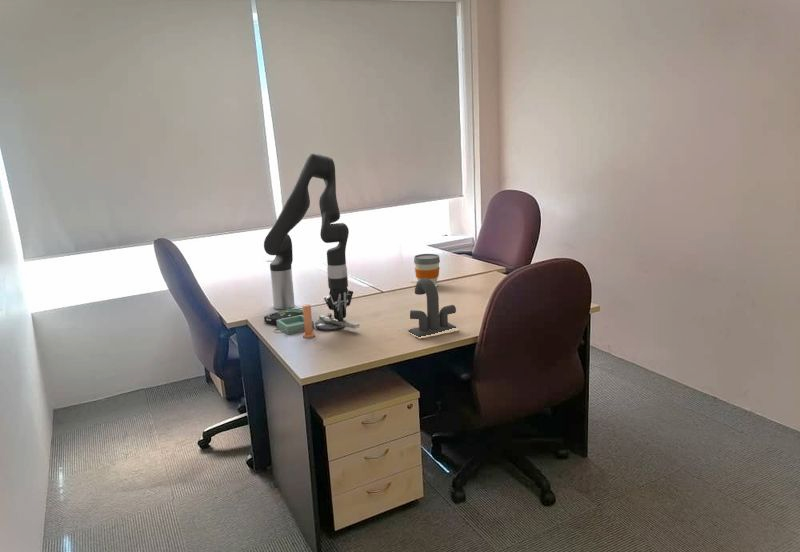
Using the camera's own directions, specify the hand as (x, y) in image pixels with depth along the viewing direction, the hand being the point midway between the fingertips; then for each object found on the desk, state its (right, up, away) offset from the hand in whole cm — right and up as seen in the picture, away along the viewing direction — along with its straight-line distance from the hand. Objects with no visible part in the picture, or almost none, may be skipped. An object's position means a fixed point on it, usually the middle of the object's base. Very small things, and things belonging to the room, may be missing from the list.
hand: (340, 318), depth 226 cm
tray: (-18, -4, +4) cm, 19 cm away
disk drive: (-24, -2, +15) cm, 28 cm away
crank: (-1, -2, +1) cm, 3 cm away
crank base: (-5, -3, +5) cm, 7 cm away
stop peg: (-11, -6, -6) cm, 14 cm away
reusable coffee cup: (+37, +11, +59) cm, 70 cm away
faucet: (+34, -4, -3) cm, 35 cm away
